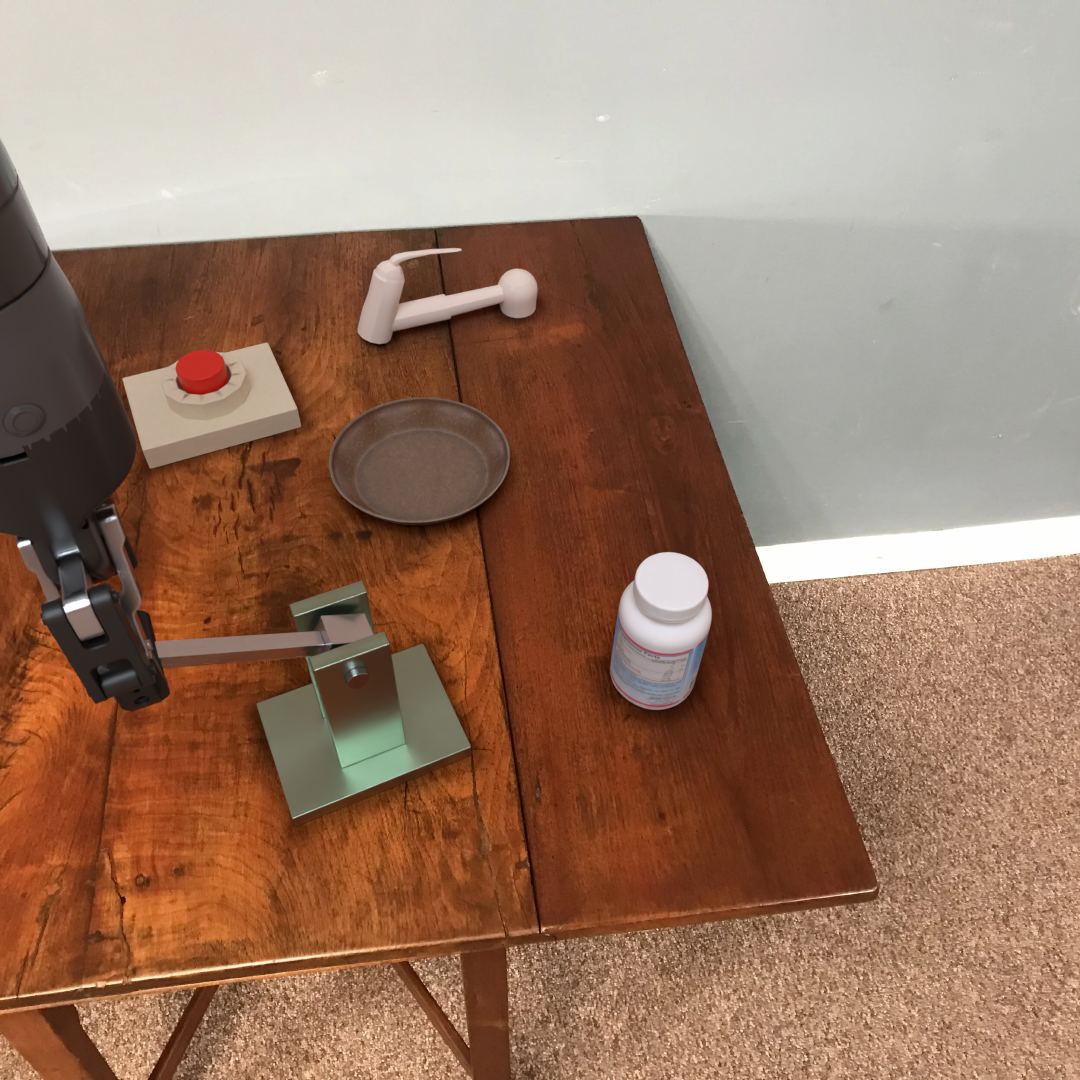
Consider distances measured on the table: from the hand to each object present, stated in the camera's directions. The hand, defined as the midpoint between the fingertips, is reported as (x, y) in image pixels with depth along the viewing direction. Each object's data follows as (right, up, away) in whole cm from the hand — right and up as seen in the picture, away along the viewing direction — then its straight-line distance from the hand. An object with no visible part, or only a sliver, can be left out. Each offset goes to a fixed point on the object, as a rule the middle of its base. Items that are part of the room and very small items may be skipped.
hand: (131, 631), depth 47 cm
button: (-8, +18, +34) cm, 40 cm away
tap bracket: (+9, -8, +17) cm, 20 cm away
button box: (-9, +16, +37) cm, 41 cm away
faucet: (+11, +26, +46) cm, 54 cm away
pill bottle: (+28, -5, +20) cm, 35 cm away
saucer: (+10, +10, +32) cm, 35 cm away
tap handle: (+4, -2, +6) cm, 8 cm away
